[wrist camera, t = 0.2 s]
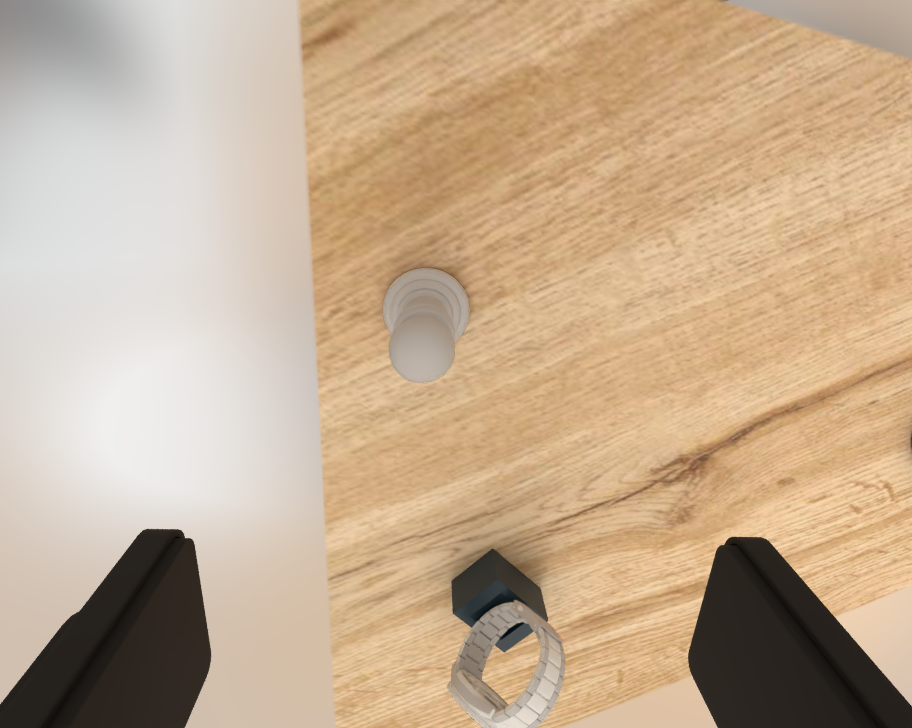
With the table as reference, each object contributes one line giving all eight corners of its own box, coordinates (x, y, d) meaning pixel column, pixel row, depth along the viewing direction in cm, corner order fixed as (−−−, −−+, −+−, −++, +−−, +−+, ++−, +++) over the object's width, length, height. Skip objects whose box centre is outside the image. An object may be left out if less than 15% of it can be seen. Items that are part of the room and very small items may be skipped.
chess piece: (396, 357, 35) (384, 422, 27) (373, 277, 33) (352, 320, 25) (477, 338, 35) (490, 398, 26) (458, 257, 33) (467, 293, 24)
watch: (433, 595, 42) (433, 737, 32) (510, 535, 40) (535, 665, 30) (482, 632, 44) (497, 779, 34) (558, 576, 42) (598, 713, 32)
